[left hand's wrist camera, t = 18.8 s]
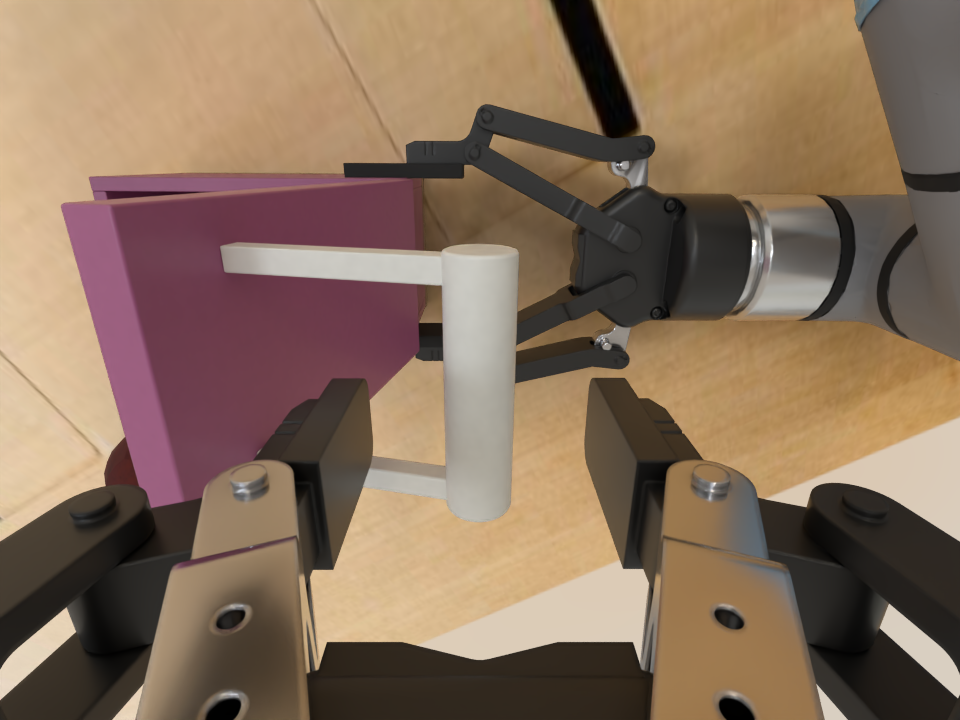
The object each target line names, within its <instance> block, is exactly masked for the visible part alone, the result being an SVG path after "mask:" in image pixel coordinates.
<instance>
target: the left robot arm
mask: <svg viewBox="0 0 960 720" xmlns="http://www.w3.org/2000/svg"><path fill="white" fill-rule="evenodd" d="M372 454H373V435H372V424H371V412H370V401H369V390H368V384H367V381H366V379H365V378H333V379H331V381H330V382H329V384H328V385H327V387H326V388H325V390H324V391H323V392H322V394H321V395H320V397H319V398H318V399H308V400H306V401H304V402H303V403H301V404H299V405H298V406H296V407H295V408H293V409H291V411H290V412H289V413H288V415H287V416H286V417H285V419H284V420H283V421H282V424H280V425H279V427H278V428H277V429H276V431H275V434H272V436H271V437H270V438H269V440H268V441H267V442H266V444H265V445H264V446H263V448H262V449H261V450H260V452H259V453H258V454H257V456H256V457H255V458H254V460H253V461H248V462H244V463H241V464H237V465H235V466H232V467H230V468H228V469H226V470H224V471H222V472H220V473H219V474H217V475H216V476H215V477H213V478H212V479H211V480H210V481H209V482H208V483H207V485H206V487H205V489H204V492H203V497H201V498H198V499H194V500H190V501H185V502H179V503H174V504H169V505H164V506H158V507H153V508H151V505H150V502H149V499H148V495H147V493H146V491H145V490H144V489H143V488H141V487H139V486H135V485H129V484H118V485H110V486H105V487H100V488H96V489H92V490H89V491H86V492H84V493H81V494H79V495H76V496H74V497H72V498H70V499H68V500H66V501H64V502H62V503H61V504H59V505H57V506H56V507H54V508H53V509H51V510H49V511H48V512H46V513H45V514H43V515H42V516H40V517H38V518H37V519H35V520H34V521H32V522H30V523H29V524H27V525H26V526H24V527H23V528H21V529H19V530H18V531H16V532H15V533H13V534H12V535H10V536H8V537H7V538H5V539H4V540H2V541H1V542H0V669H1V667H2V665H3V664H4V662H5V661H6V660H7V658H8V657H9V656H10V655H11V654H12V653H13V652H14V651H15V650H16V649H17V648H18V647H19V646H20V645H22V644H23V643H24V642H25V641H26V640H28V639H29V638H30V637H31V636H32V635H34V634H35V633H36V632H37V631H38V630H40V629H41V628H42V627H43V626H44V625H46V624H47V623H48V622H49V621H50V620H52V619H53V618H54V617H55V616H56V615H58V614H59V613H60V612H61V611H62V610H64V609H65V608H66V607H67V609H68V612H69V615H70V617H71V620H72V622H73V625H74V627H75V630H76V633H75V634H73V635H72V636H71V637H70V638H69V639H68V640H67V641H66V642H65V643H63V644H62V645H61V646H60V647H59V648H58V649H57V650H56V651H55V652H53V653H52V654H51V655H50V656H49V657H48V658H47V659H46V660H45V661H43V662H42V663H41V664H40V665H39V666H38V667H37V668H36V669H35V670H33V671H32V672H31V673H30V674H29V675H28V676H27V677H26V678H25V679H23V680H22V681H21V682H20V683H19V684H18V685H17V686H16V687H15V688H13V689H12V690H11V691H10V692H9V693H8V694H7V695H6V696H4V697H3V698H2V699H1V700H0V720H112V719H113V718H114V717H115V716H116V715H117V713H118V712H119V711H120V710H121V709H122V708H123V707H124V705H125V704H126V703H127V702H128V701H129V700H130V699H131V697H132V696H133V695H134V694H135V693H136V692H137V691H138V689H139V688H140V687H141V686H142V685H143V684H144V685H143V690H142V694H141V698H140V702H139V707H138V711H137V715H136V719H135V720H825V719H824V715H823V711H822V707H821V702H820V698H819V694H818V690H817V686H816V684H817V685H818V686H819V687H820V688H821V689H822V691H823V692H824V693H825V694H826V695H827V696H828V697H829V699H830V700H831V701H832V702H833V703H834V704H835V705H836V707H837V708H838V709H839V710H840V711H841V712H842V713H843V715H844V716H845V717H846V718H847V719H848V720H960V696H959V698H957V697H955V696H954V695H953V694H952V693H951V692H950V691H949V690H948V689H947V688H945V687H944V686H943V685H942V684H941V683H940V682H939V681H938V680H937V679H935V678H934V677H933V676H932V675H931V674H930V673H929V672H928V671H927V670H925V669H924V668H923V667H922V666H921V665H920V664H919V663H918V662H917V661H915V660H914V659H913V658H912V657H911V656H910V655H909V654H908V653H907V652H905V651H904V650H903V649H902V648H901V647H900V646H899V645H898V644H897V643H895V642H894V641H893V640H892V639H891V638H890V637H889V636H888V635H887V634H885V633H884V632H883V631H882V630H881V629H880V625H881V623H882V620H883V617H884V615H885V612H886V610H887V607H888V605H889V604H891V605H892V606H893V607H894V608H895V609H896V610H898V611H899V612H900V613H901V614H903V615H904V616H905V617H906V618H907V619H908V620H910V621H911V622H912V623H913V624H914V625H916V626H917V627H918V628H919V629H920V630H922V631H923V632H924V633H925V634H926V635H928V636H929V637H930V638H931V639H932V640H934V641H935V642H936V643H937V644H938V645H939V646H941V647H942V648H943V649H944V650H945V651H946V652H947V654H948V655H949V656H950V657H951V659H952V660H953V662H954V663H955V665H956V667H957V669H958V671H959V673H960V542H959V541H958V540H956V539H955V538H953V537H952V536H950V535H948V534H947V533H945V532H944V531H942V530H941V529H939V528H937V527H936V526H934V525H933V524H931V523H930V522H928V521H926V520H925V519H923V518H922V517H920V516H918V515H917V514H915V513H914V512H912V511H911V510H909V509H907V508H906V507H904V506H903V505H901V504H900V503H898V502H896V501H894V500H893V499H891V498H889V497H887V496H885V495H883V494H880V493H878V492H875V491H872V490H870V489H867V488H863V487H859V486H855V485H850V484H843V483H826V484H821V485H818V486H816V487H815V488H814V489H812V491H811V494H810V497H809V501H808V504H807V507H802V506H796V505H791V504H786V503H781V502H775V501H770V500H765V499H761V498H757V492H756V489H755V487H754V485H753V484H752V482H751V481H750V480H749V479H748V478H747V477H745V476H744V475H743V474H741V473H740V472H738V471H736V470H734V469H732V468H730V467H728V466H725V465H723V464H719V463H716V462H712V461H706V460H703V459H702V457H701V456H700V455H699V453H698V452H697V451H696V449H695V448H694V447H693V445H692V444H691V442H690V441H689V440H688V438H687V437H686V436H685V434H682V430H681V429H680V428H679V426H678V425H677V424H676V423H674V420H673V418H672V417H671V416H670V414H669V413H668V412H667V410H666V409H665V408H663V407H662V406H660V405H658V404H657V403H655V402H653V401H652V400H650V399H649V398H638V397H637V395H636V394H635V392H634V391H633V389H632V388H631V386H630V385H629V383H628V382H627V380H626V379H625V378H592V379H591V381H590V385H589V394H588V405H587V417H586V429H585V458H586V464H587V467H588V470H589V473H590V475H591V478H592V481H593V484H594V487H595V490H596V493H597V495H598V498H599V501H600V504H601V507H602V510H603V513H604V515H605V518H606V521H607V524H608V527H609V530H610V532H611V535H612V538H613V541H614V544H615V547H616V550H617V552H618V555H619V558H620V561H621V564H622V567H623V569H644V572H645V574H646V577H647V579H648V582H649V588H648V594H647V603H646V613H645V622H644V632H643V641H642V651H641V660H640V663H639V660H638V657H637V654H636V650H635V647H634V644H633V642H557V643H553V644H549V645H544V646H541V647H536V648H532V649H528V650H524V651H520V652H516V653H512V654H508V655H504V656H500V657H496V658H491V659H487V660H473V659H469V658H465V657H460V656H456V655H452V654H448V653H444V652H440V651H436V650H432V649H428V648H424V647H420V646H416V645H412V644H408V643H403V642H327V644H326V647H325V650H324V654H323V657H322V660H321V663H320V660H319V651H318V641H317V632H316V622H315V612H314V603H313V594H312V588H311V581H310V576H311V573H312V571H313V570H333V569H334V566H335V563H336V561H337V558H338V555H339V552H340V549H341V547H342V544H343V541H344V538H345V536H346V533H347V530H348V527H349V524H350V522H351V519H352V516H353V513H354V510H355V508H356V505H357V502H358V499H359V496H360V494H361V491H362V488H363V485H364V482H365V480H366V477H367V474H368V471H369V469H370V466H371V461H372Z"/></svg>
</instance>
